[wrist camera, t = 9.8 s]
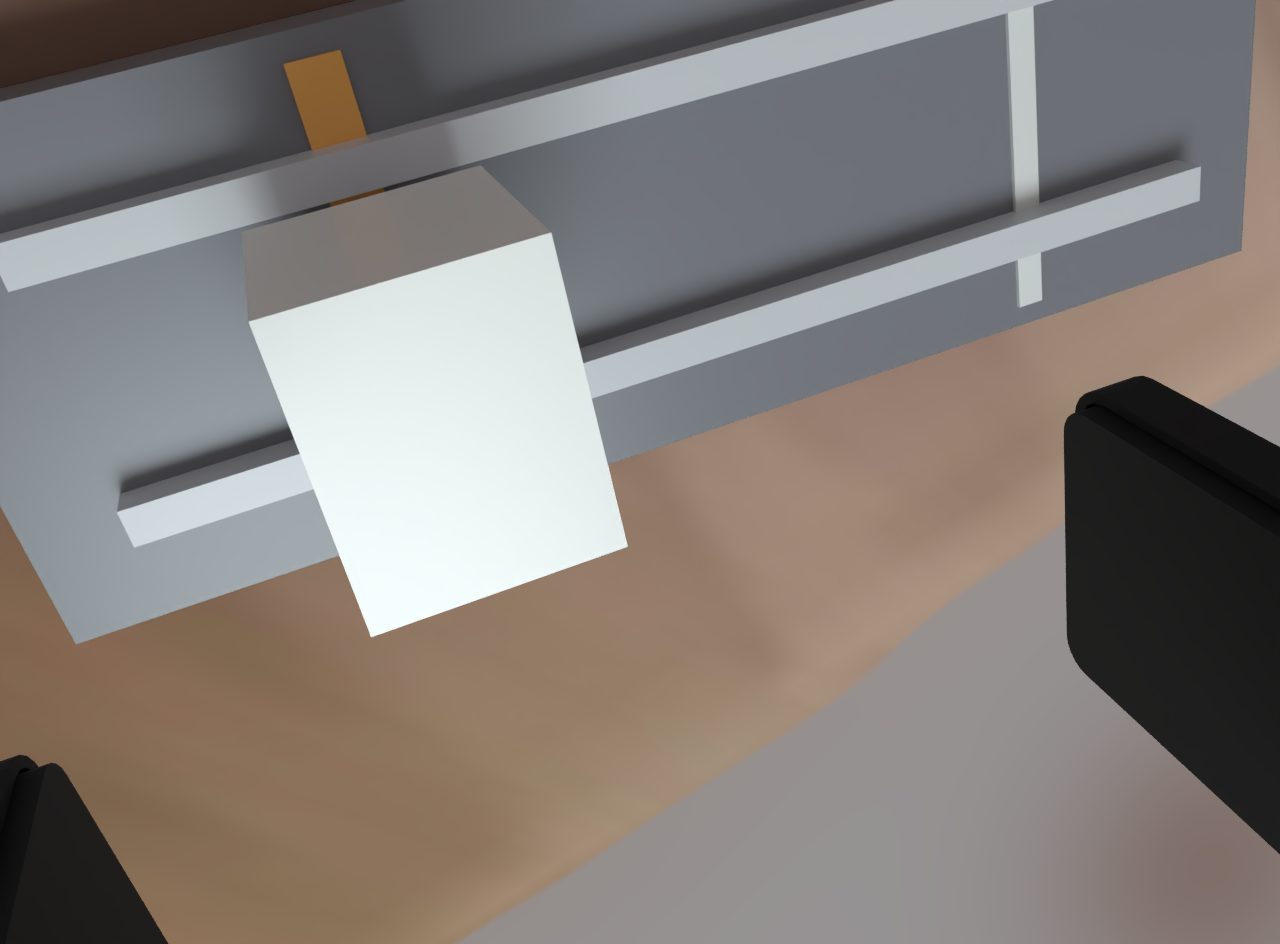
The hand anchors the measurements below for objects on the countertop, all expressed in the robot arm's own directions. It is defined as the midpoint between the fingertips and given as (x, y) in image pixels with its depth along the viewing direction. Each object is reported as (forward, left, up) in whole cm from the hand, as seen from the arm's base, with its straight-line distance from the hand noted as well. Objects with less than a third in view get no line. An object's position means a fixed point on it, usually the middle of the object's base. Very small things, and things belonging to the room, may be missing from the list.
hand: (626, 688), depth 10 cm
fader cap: (0, 0, -14) cm, 13 cm away
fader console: (-6, 0, -16) cm, 17 cm away
